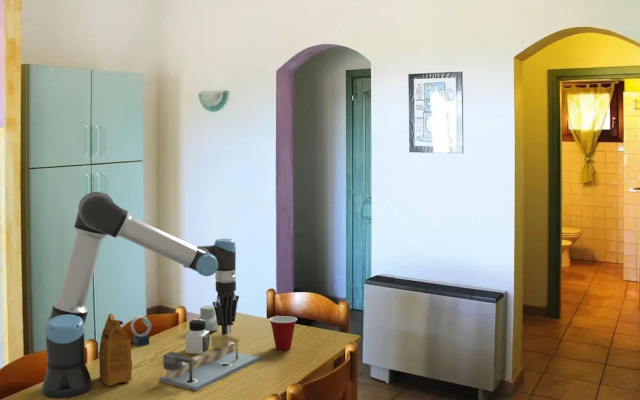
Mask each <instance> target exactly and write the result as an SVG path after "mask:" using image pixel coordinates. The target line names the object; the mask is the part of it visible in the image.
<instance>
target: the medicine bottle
mask: <svg viewBox="0 0 640 400" xmlns="http://www.w3.org/2000/svg"><path fill="white" fill-rule="evenodd" d="M188 324H189V326H188V328H189V332H188V333H187V334H185V353H186V354H193V355H200V354H202V353H205V352H207V351H209V349H210V348H211V345H210V344H211V342H210V340H211V337H210V336H211V335H210V332H209V331H205V321H204V320H202V319H198V318H196V319H195V318H194V319H192V320H189V323H188Z"/></svg>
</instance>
